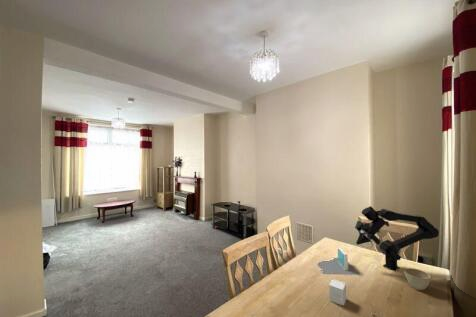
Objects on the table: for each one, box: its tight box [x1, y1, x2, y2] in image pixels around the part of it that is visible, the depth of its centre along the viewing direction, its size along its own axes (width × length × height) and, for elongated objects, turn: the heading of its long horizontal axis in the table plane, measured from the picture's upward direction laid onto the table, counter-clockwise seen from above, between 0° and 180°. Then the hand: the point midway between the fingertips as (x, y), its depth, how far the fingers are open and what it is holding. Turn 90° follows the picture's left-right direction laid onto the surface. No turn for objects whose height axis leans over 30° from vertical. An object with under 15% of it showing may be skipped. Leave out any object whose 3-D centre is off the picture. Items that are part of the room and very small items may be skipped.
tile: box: [337, 247, 349, 270], centre depth 124 cm, size 2×10×9 cm, turn 175°
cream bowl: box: [403, 267, 431, 291], centre depth 102 cm, size 10×10×7 cm
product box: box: [328, 278, 347, 307], centre depth 94 cm, size 6×6×7 cm
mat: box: [316, 257, 360, 276], centre depth 124 cm, size 20×20×1 cm
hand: (356, 244), depth 123 cm, fingers closed
